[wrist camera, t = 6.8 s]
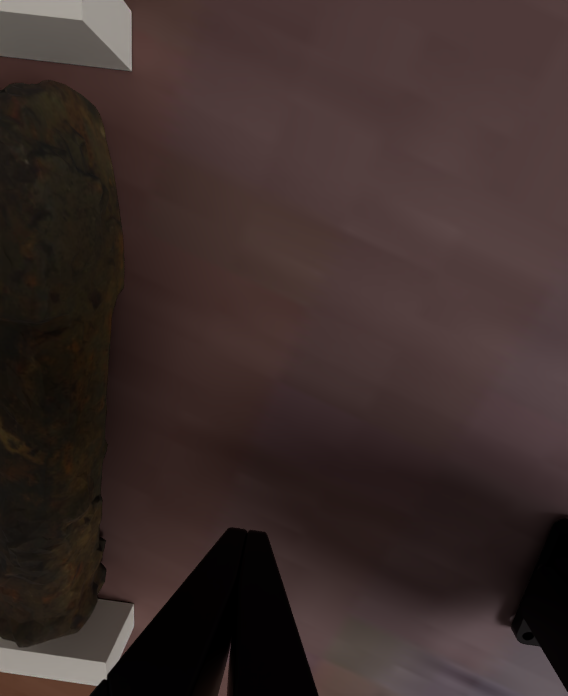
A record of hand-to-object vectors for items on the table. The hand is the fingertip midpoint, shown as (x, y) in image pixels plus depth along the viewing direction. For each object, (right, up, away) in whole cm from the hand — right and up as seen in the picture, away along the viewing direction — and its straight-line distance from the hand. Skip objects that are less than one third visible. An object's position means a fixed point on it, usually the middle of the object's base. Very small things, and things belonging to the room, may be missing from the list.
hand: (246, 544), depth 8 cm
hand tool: (-7, +3, +6) cm, 11 cm away
